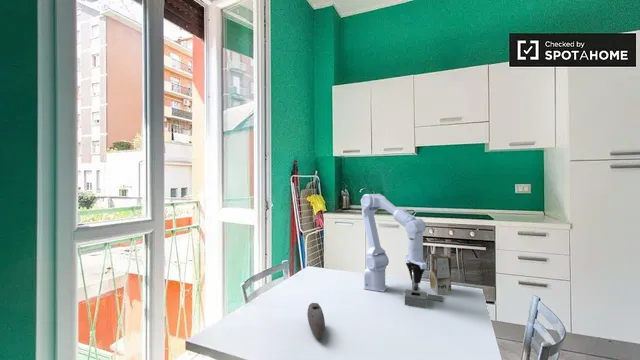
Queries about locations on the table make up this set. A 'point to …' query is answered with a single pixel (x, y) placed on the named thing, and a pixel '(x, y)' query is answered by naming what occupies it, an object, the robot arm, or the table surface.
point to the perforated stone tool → (316, 320)
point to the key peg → (414, 284)
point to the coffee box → (440, 273)
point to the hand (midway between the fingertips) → (415, 281)
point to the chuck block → (416, 298)
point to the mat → (435, 298)
